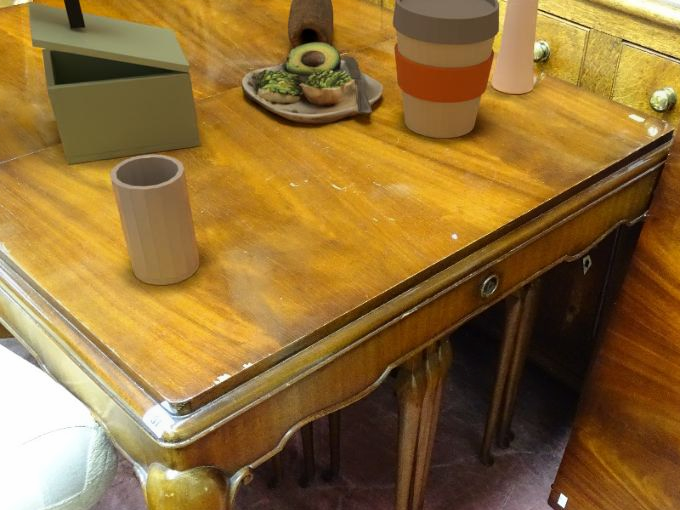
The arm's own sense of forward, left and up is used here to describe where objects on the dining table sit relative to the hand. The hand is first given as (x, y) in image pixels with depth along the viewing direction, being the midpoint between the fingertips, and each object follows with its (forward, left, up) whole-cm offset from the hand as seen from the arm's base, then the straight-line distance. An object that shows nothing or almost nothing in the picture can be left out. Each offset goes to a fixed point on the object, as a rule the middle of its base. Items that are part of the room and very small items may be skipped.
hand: (77, 23), depth 83 cm
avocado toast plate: (+23, +15, -13) cm, 30 cm away
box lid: (+3, +1, -2) cm, 3 cm away
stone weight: (+20, +34, -13) cm, 42 cm away
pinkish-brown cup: (+15, -25, -13) cm, 32 cm away
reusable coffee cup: (+40, +9, -13) cm, 43 cm away
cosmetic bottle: (+50, +22, -13) cm, 56 cm away
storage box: (+3, +1, -13) cm, 14 cm away
